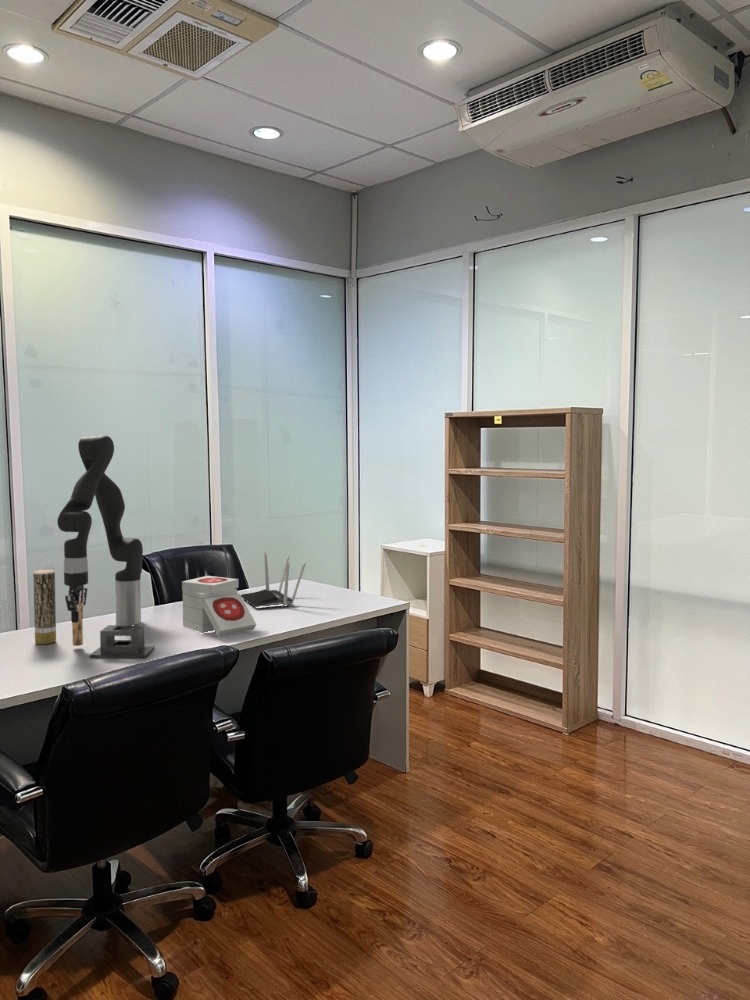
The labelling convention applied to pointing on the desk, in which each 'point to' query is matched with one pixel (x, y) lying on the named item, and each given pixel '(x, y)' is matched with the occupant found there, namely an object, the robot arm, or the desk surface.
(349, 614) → the desk surface
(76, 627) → the tan wooden rod
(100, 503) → the robot arm
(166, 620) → the desk surface
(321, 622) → the desk surface
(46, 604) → the bark log
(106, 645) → the stand
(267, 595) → the wireless router
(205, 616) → the stack of pizza boxes
